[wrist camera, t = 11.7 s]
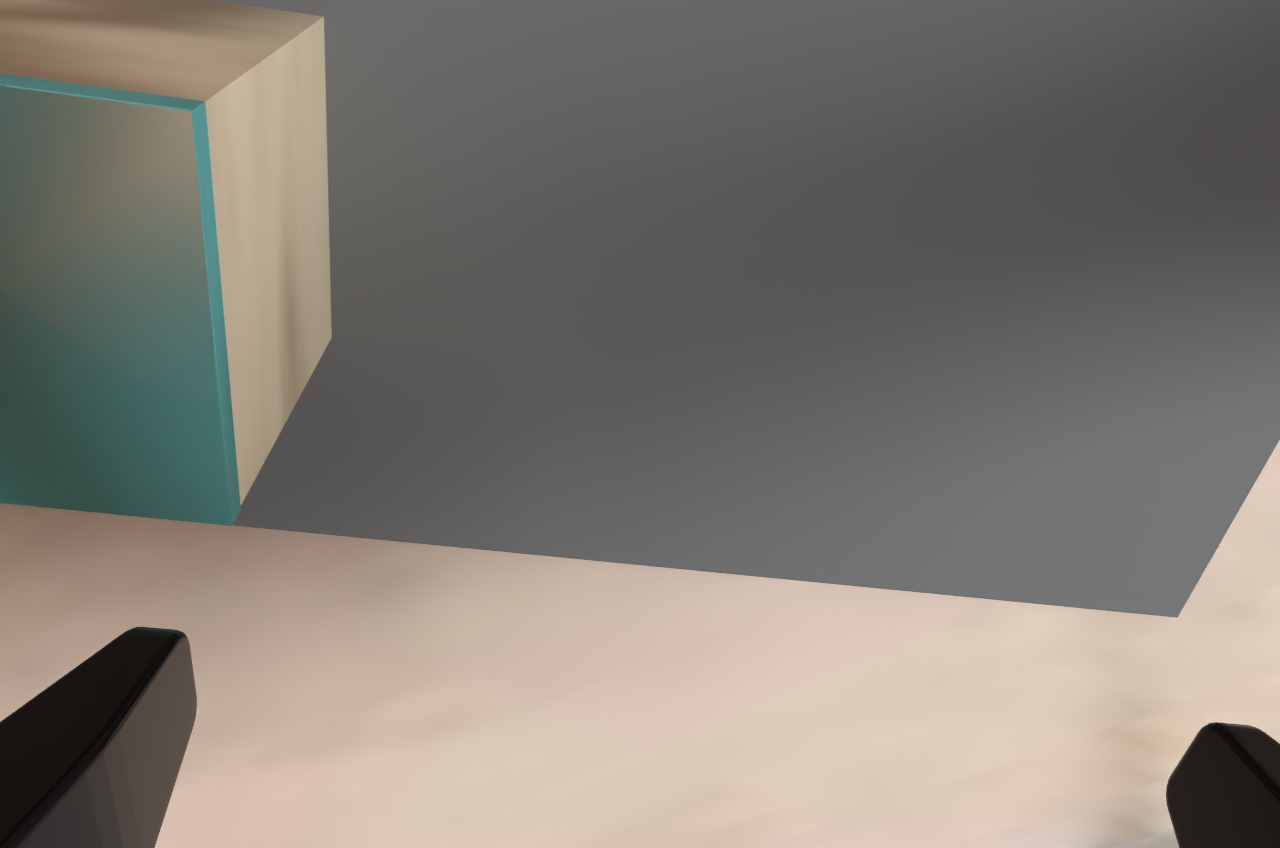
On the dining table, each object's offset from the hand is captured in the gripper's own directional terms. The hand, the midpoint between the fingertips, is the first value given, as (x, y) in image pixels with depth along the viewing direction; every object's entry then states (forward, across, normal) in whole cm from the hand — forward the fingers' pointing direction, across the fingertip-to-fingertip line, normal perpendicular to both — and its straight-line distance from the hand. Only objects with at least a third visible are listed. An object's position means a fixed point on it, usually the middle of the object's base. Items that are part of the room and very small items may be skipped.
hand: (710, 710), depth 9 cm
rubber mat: (+12, 0, +1) cm, 12 cm away
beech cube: (+6, +9, 0) cm, 11 cm away
